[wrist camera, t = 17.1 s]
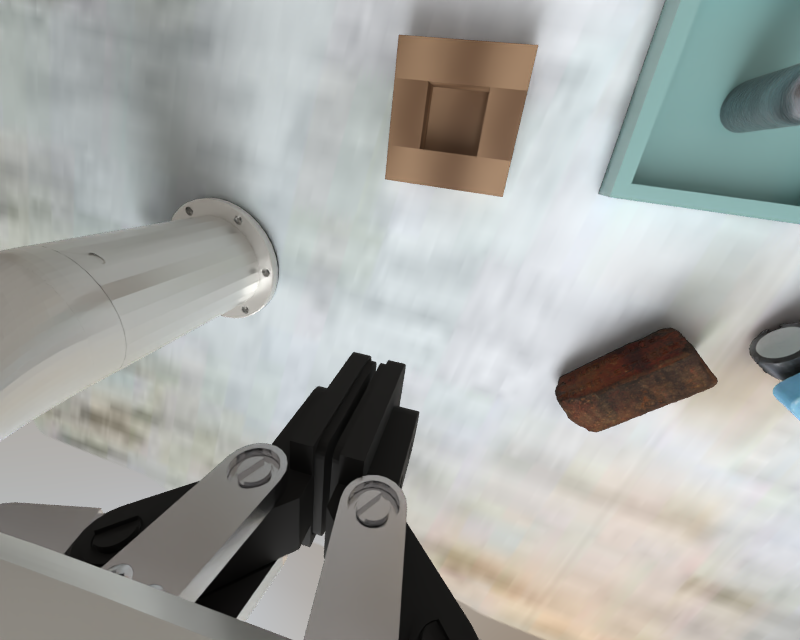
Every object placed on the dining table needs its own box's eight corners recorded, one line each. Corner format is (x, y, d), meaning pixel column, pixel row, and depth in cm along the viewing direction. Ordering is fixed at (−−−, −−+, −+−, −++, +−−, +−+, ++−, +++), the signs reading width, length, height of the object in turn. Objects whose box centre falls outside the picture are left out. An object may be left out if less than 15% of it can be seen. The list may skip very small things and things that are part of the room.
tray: (598, 193, 27) (609, 197, 24) (677, -34, 21) (703, -62, 18) (796, 221, 24) (832, 228, 22) (943, -25, 19) (1016, -55, 16)
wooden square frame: (395, 178, 30) (385, 179, 27) (408, 47, 26) (398, 34, 23) (502, 193, 28) (502, 196, 26) (533, 58, 24) (538, 45, 22)
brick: (667, 320, 29) (695, 346, 25) (692, 355, 30) (723, 386, 26) (550, 378, 34) (558, 408, 30) (574, 407, 34) (584, 441, 30)
